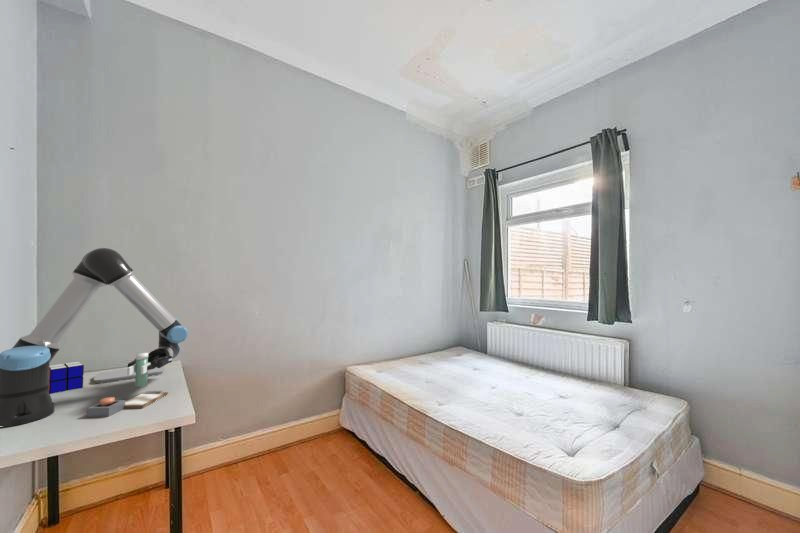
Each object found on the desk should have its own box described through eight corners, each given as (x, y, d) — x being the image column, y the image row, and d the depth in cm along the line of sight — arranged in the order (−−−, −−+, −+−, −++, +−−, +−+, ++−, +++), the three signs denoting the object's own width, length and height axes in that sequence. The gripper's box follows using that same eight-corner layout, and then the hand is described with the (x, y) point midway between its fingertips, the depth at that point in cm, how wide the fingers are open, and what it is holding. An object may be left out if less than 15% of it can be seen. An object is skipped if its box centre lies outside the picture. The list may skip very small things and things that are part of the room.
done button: (108, 405, 111) (108, 400, 111) (96, 405, 111) (96, 401, 111) (117, 400, 115) (117, 396, 115) (105, 401, 115) (106, 396, 115)
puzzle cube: (49, 394, 131) (50, 369, 132) (46, 389, 137) (47, 365, 138) (83, 387, 139) (84, 364, 140) (78, 383, 145) (79, 361, 146)
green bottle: (142, 386, 122) (143, 354, 122) (132, 387, 122) (133, 355, 122) (150, 383, 126) (150, 352, 126) (139, 384, 125) (140, 352, 126)
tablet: (164, 375, 159) (165, 370, 159) (92, 386, 142) (93, 381, 142) (162, 368, 171) (162, 363, 172) (96, 377, 155) (96, 372, 155)
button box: (108, 416, 109) (109, 407, 110) (87, 417, 109) (87, 408, 109) (124, 408, 116) (125, 400, 117) (104, 408, 116) (105, 400, 116)
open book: (142, 408, 116) (142, 403, 116) (113, 409, 116) (113, 404, 116) (167, 394, 130) (168, 390, 130) (142, 395, 130) (142, 390, 130)
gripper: (181, 363, 143) (161, 378, 121) (137, 366, 138) (107, 383, 116) (182, 346, 144) (161, 359, 121) (137, 349, 138) (108, 362, 116)
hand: (135, 371), depth 119 cm, fingers closed on green bottle, 3 cm apart
